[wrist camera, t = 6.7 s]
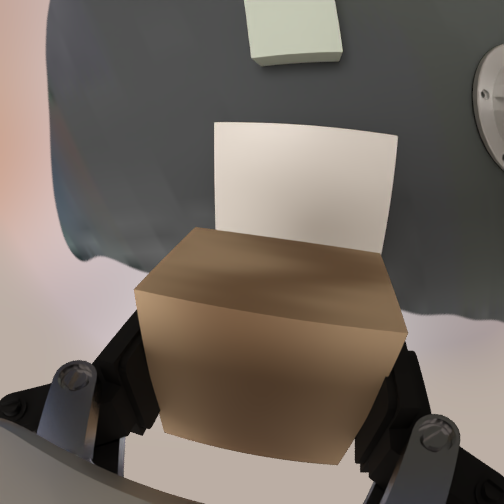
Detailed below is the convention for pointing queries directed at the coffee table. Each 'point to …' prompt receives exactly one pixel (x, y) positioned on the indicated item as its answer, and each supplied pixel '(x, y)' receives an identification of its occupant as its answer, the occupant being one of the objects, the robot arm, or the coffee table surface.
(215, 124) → the baseplate
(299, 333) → the oak block
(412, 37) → the coffee table surface
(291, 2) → the sage block
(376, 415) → the robot arm
